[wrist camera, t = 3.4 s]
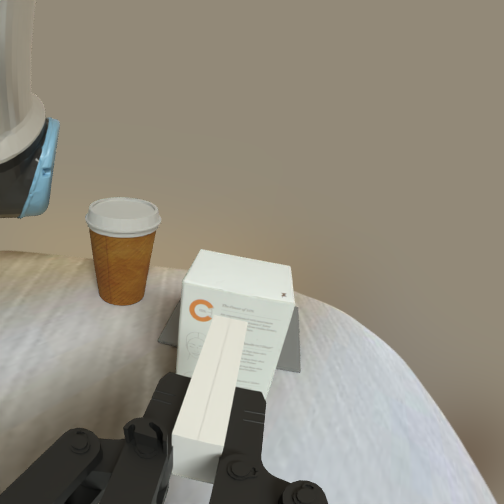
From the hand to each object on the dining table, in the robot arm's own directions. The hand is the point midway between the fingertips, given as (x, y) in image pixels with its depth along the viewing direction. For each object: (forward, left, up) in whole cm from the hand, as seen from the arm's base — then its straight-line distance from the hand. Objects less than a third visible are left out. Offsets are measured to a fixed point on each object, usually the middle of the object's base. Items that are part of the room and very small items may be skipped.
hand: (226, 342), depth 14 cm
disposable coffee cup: (-16, +23, -15) cm, 32 cm away
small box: (0, +11, -15) cm, 18 cm away
